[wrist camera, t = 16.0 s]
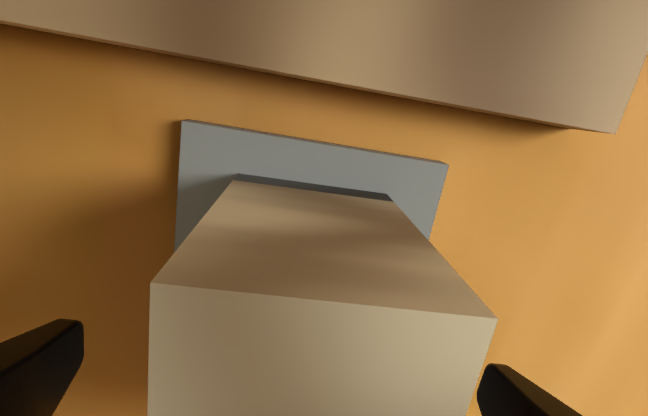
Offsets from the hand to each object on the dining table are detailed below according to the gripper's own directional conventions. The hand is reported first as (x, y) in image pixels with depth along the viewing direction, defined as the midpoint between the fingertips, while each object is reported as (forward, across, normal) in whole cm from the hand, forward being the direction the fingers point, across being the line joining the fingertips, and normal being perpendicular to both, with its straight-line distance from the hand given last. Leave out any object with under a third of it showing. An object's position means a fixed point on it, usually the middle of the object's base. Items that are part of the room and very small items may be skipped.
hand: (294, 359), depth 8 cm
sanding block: (+3, 0, 0) cm, 3 cm away
